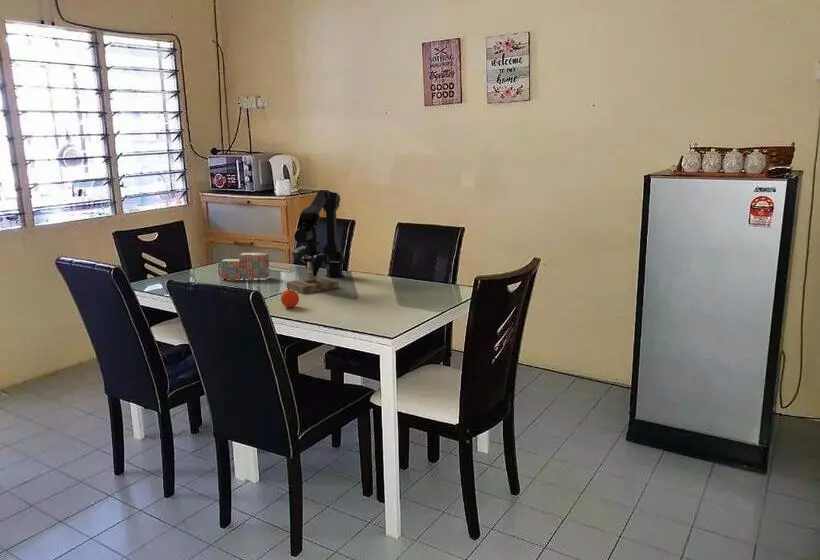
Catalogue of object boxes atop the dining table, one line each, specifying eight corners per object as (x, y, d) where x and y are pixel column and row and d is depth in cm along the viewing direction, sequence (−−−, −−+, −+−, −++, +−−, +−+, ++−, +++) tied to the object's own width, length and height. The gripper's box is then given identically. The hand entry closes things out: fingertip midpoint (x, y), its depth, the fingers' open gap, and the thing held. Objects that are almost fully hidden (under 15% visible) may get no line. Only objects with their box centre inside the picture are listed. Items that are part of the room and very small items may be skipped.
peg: (314, 278, 287) (313, 260, 286) (319, 279, 284) (318, 261, 282) (306, 279, 285) (305, 261, 283) (310, 281, 282) (309, 262, 280)
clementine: (293, 303, 258) (292, 286, 257) (305, 306, 254) (304, 288, 252) (277, 307, 252) (276, 290, 251) (289, 310, 248) (288, 292, 246)
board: (322, 282, 296) (322, 276, 295) (338, 287, 285) (338, 281, 285) (286, 288, 285) (286, 281, 285) (302, 294, 274) (302, 287, 274)
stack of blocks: (221, 280, 305) (219, 254, 302) (226, 278, 311) (224, 252, 308) (266, 280, 303) (264, 254, 301) (270, 278, 309) (268, 252, 307)
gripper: (283, 239, 283) (285, 274, 287) (304, 244, 269) (306, 281, 272) (306, 236, 290) (308, 271, 293) (328, 241, 275) (329, 277, 279)
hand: (312, 275), depth 284 cm, fingers closed on peg, 4 cm apart
